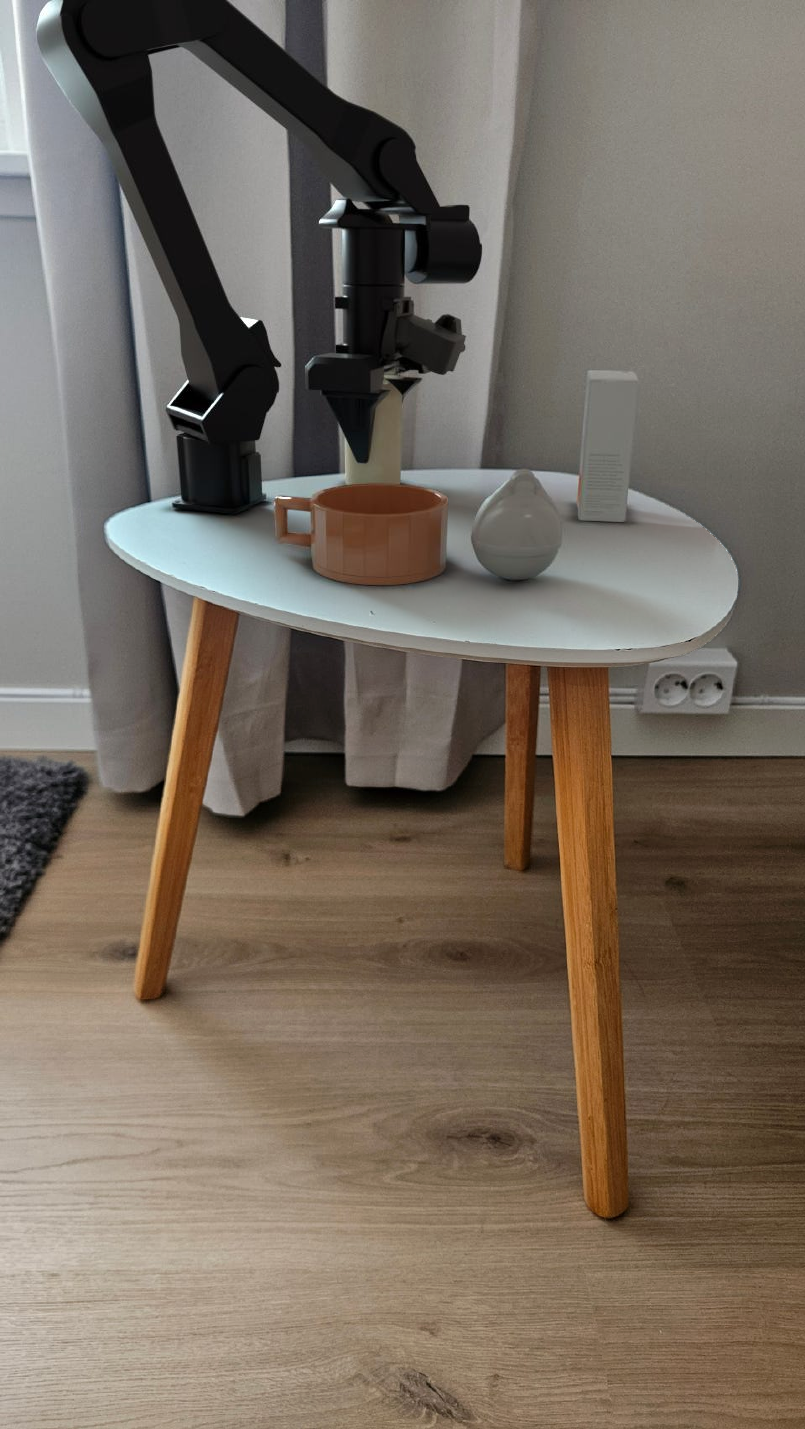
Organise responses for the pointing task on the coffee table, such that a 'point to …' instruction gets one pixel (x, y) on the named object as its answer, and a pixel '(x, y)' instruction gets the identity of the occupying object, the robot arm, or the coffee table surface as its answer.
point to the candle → (380, 445)
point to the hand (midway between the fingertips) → (373, 457)
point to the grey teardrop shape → (517, 529)
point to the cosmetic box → (607, 445)
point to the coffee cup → (371, 532)
